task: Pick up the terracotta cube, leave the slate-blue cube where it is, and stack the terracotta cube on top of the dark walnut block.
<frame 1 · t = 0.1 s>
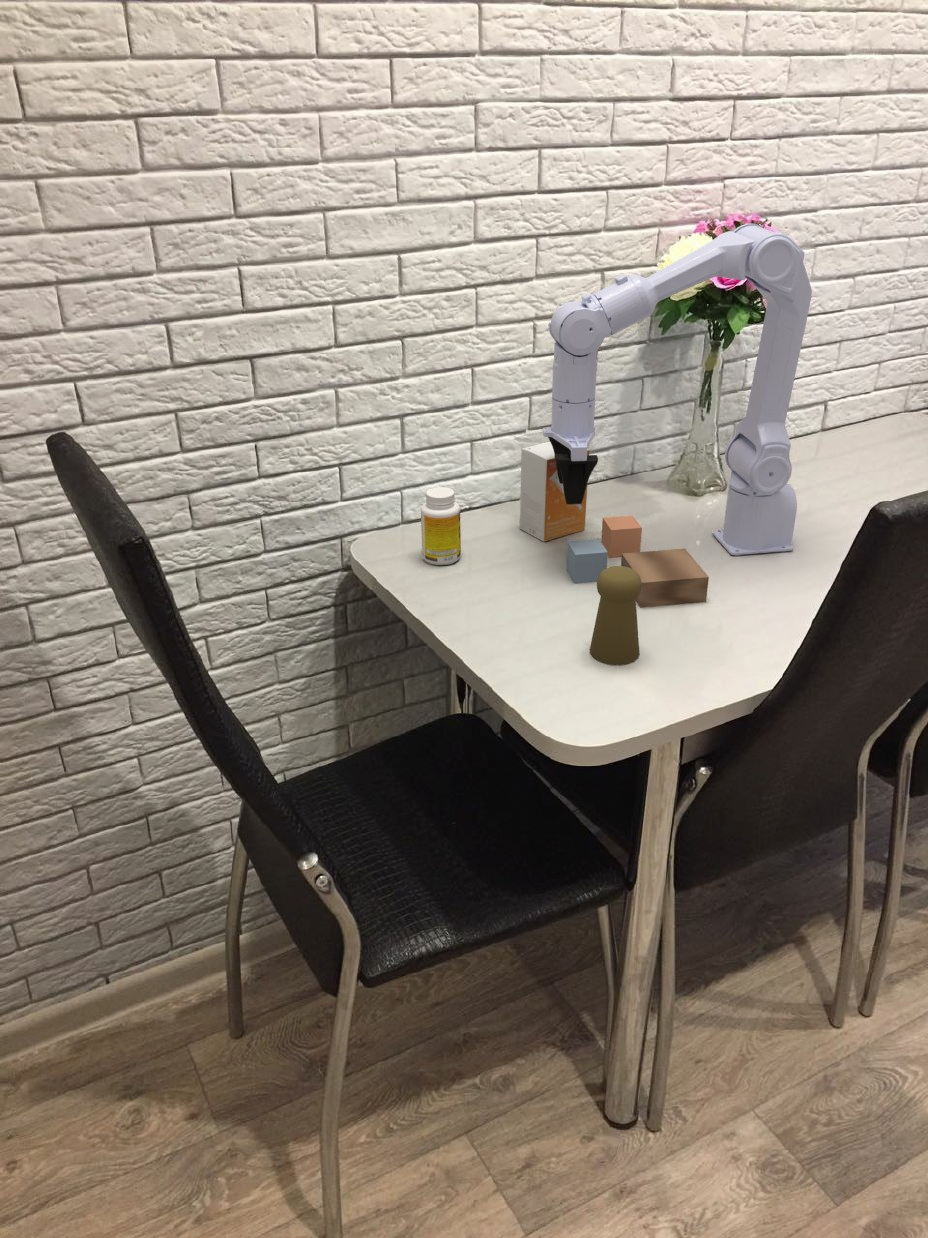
hand: (570, 492, 144), 10 cm above the table, fingers open, 7 cm apart
slate-blue cube: (585, 575, 144), on the table
olive game pawn: (614, 653, 125), on the table
walnut block: (661, 591, 140), on the table
terracotta cube: (620, 551, 151), on the table
supplement bottle: (441, 559, 149), on the table
small box: (552, 531, 157), on the table
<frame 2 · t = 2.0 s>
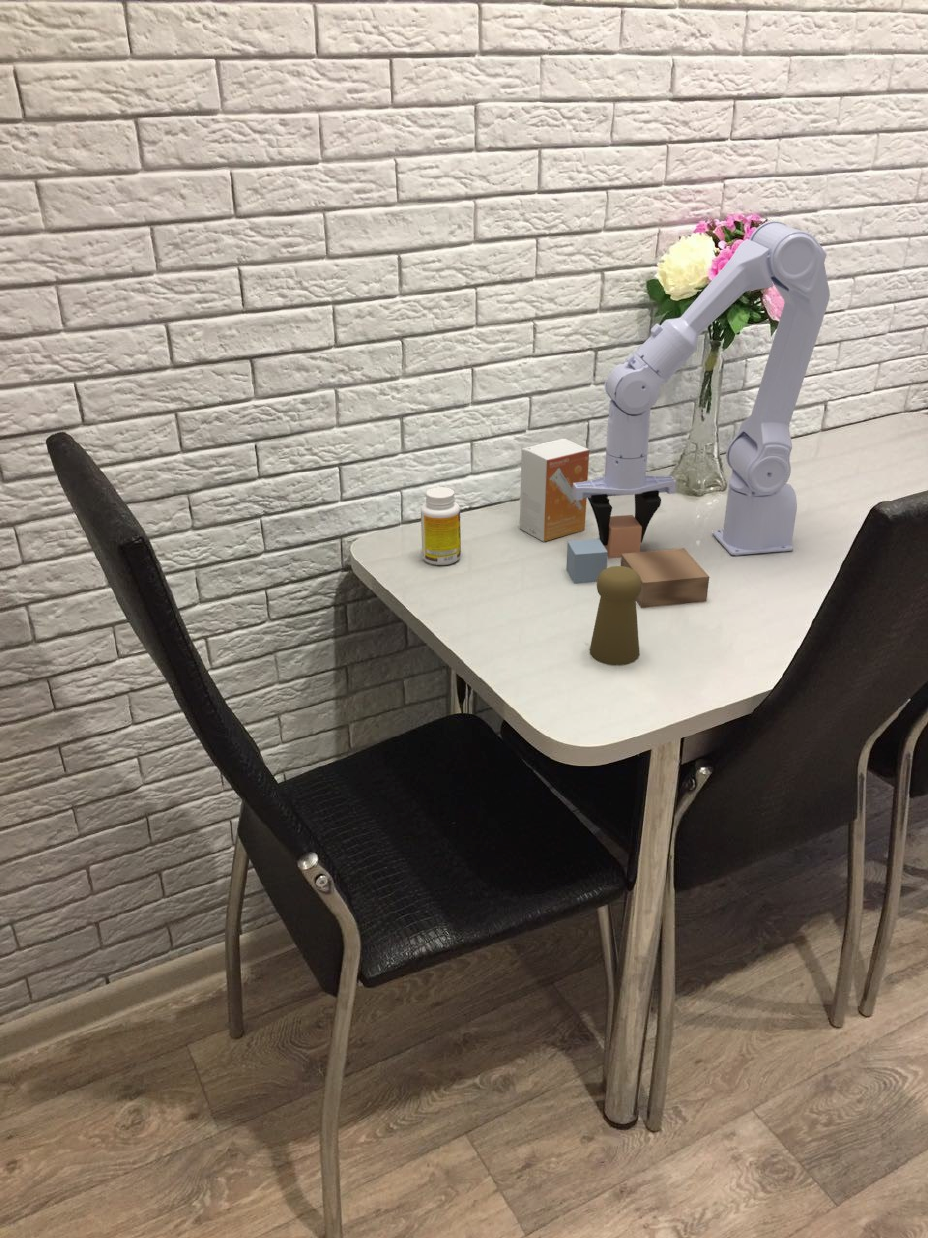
hand: (620, 541, 150), 1 cm above the table, fingers closed on terracotta cube, 4 cm apart
terracotta cube: (620, 550, 151), on the table, touching gripper
everything else where it was.
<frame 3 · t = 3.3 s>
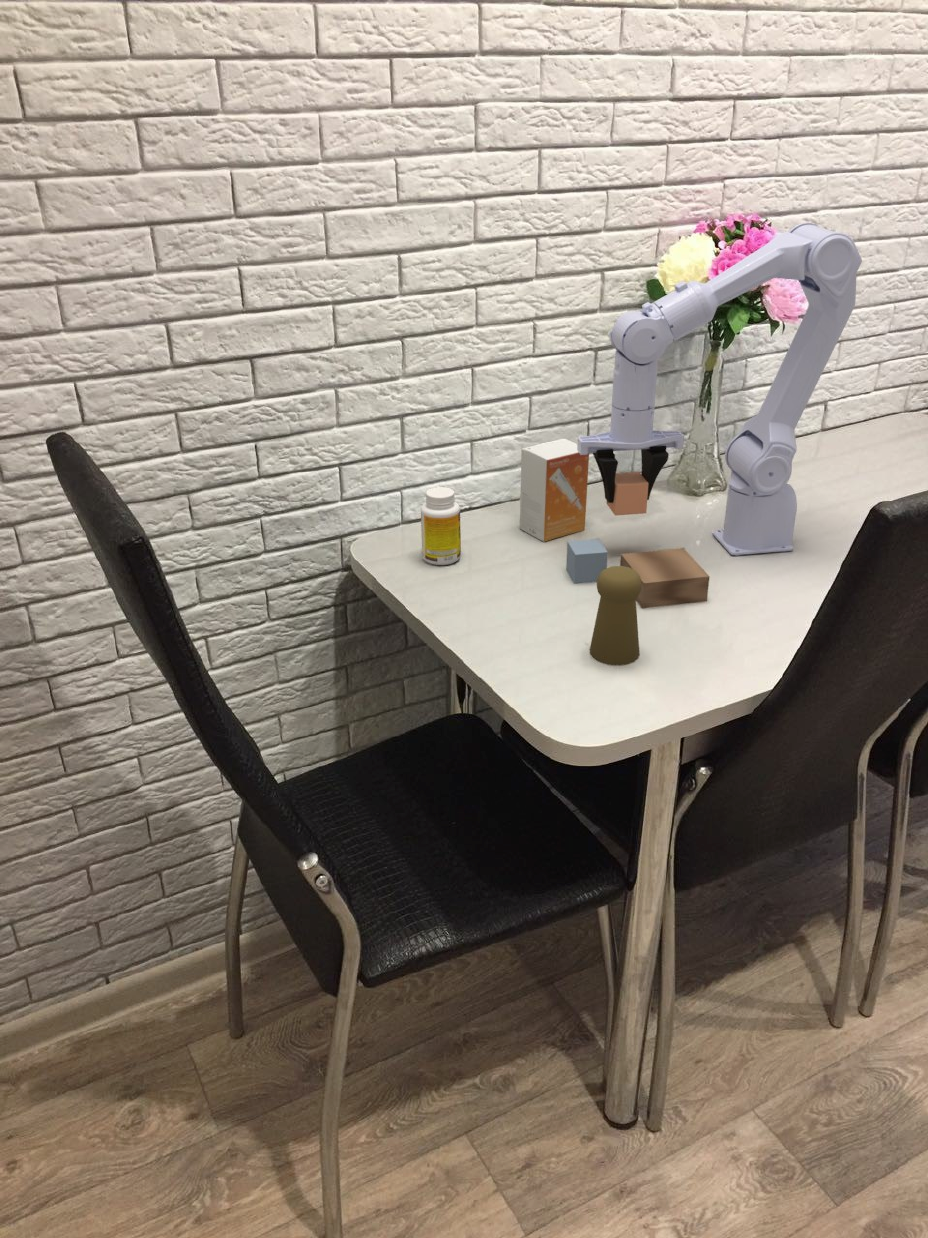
hand: (626, 498, 146), 8 cm above the table, fingers closed on terracotta cube, 4 cm apart
terracotta cube: (626, 508, 146), point 7 cm above the table, touching gripper
everything else where it was.
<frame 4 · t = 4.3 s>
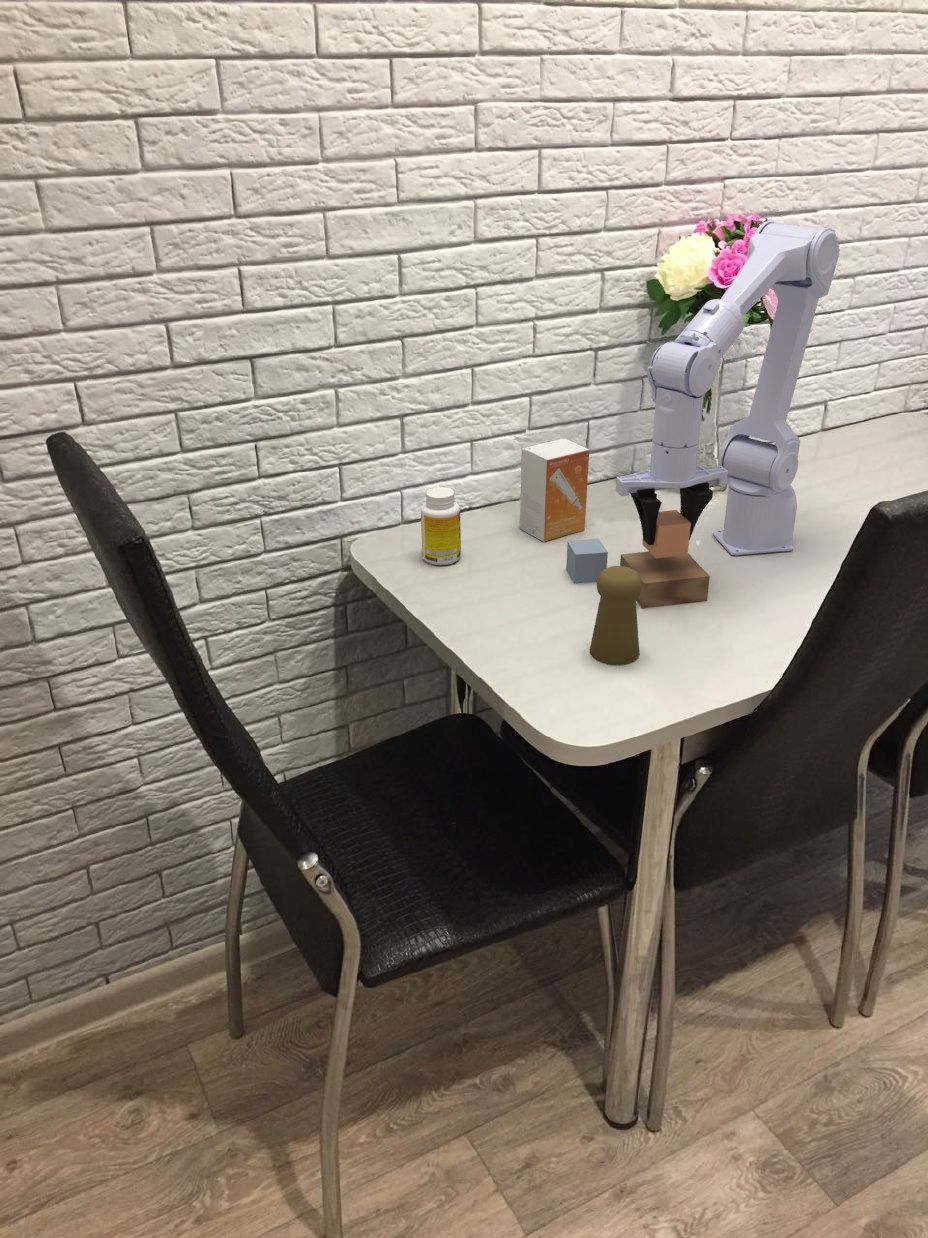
hand: (666, 539, 136), 7 cm above the table, fingers closed on terracotta cube, 4 cm apart
terracotta cube: (664, 549, 137), point 6 cm above the table, touching gripper
everything else where it was.
when the fingers open (6 cm above the table, at t = 4.9 s): terracotta cube drops 1 cm, resting on walnut block.
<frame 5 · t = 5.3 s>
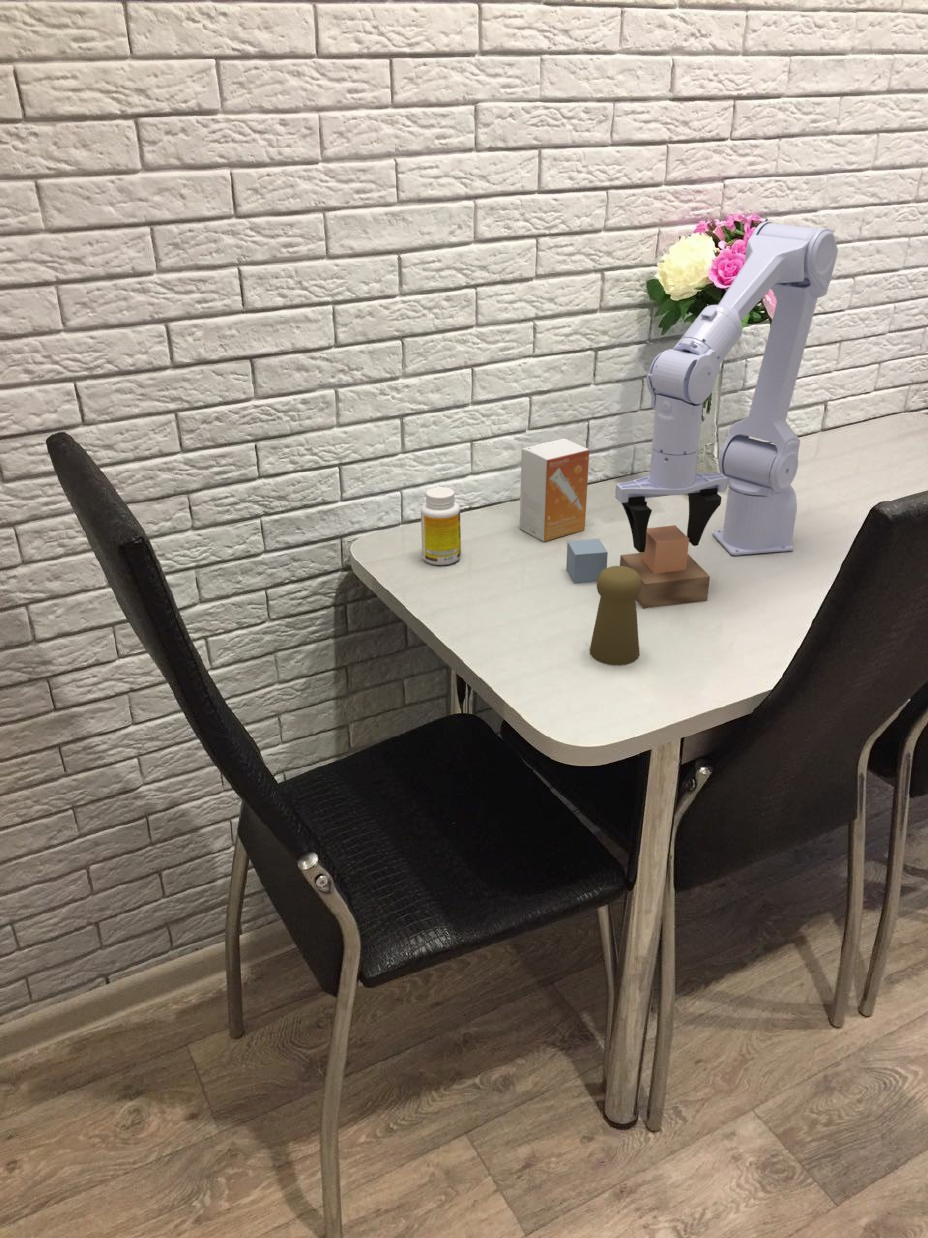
hand: (666, 546, 136), 6 cm above the table, fingers open, 7 cm apart
walnut block: (661, 592, 140), on the table, touching terracotta cube
terracotta cube: (663, 564, 138), point 4 cm above the table, touching walnut block
everything else where it was.
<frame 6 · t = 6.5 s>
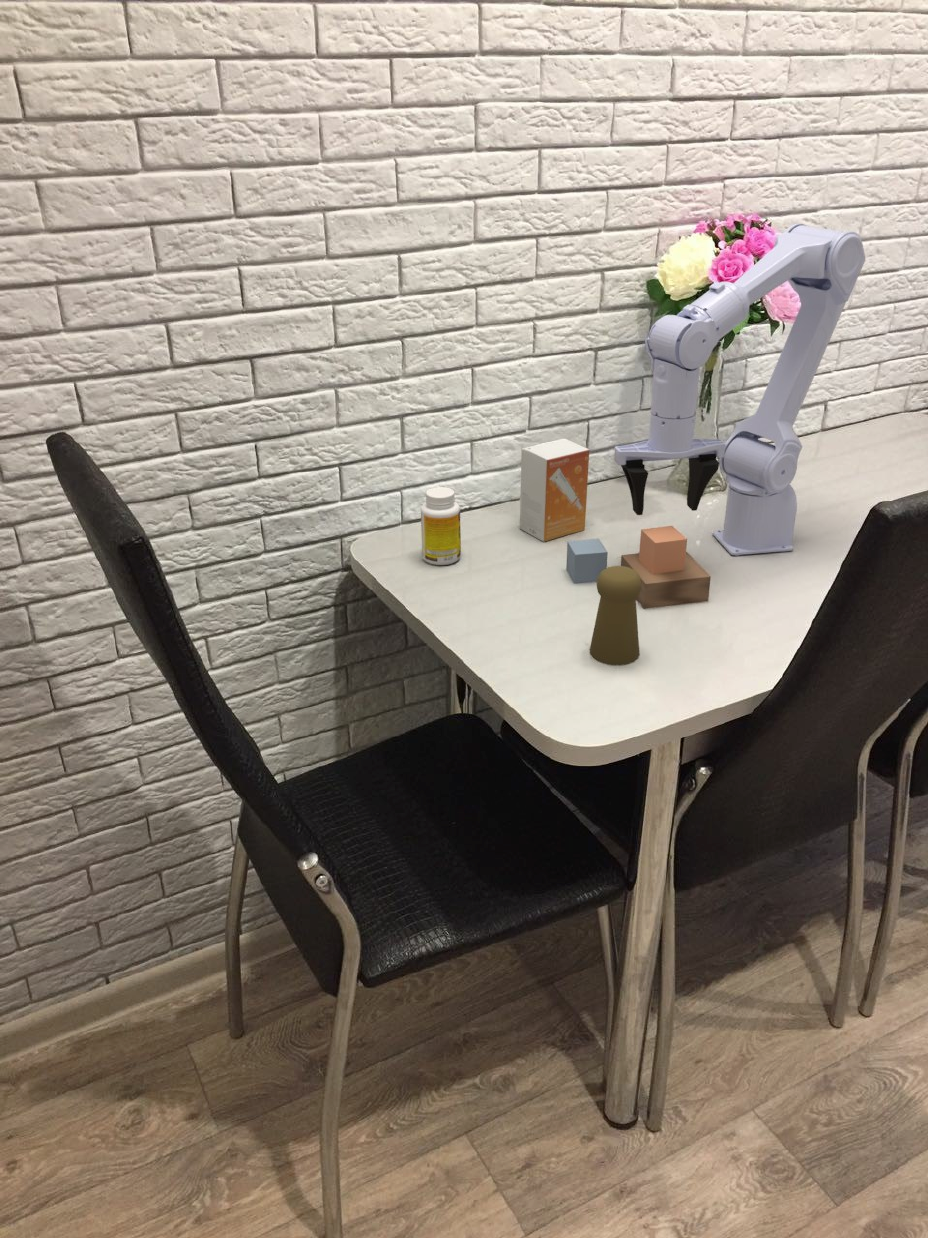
hand: (664, 510, 140), 9 cm above the table, fingers open, 7 cm apart
nothing on the table moved.
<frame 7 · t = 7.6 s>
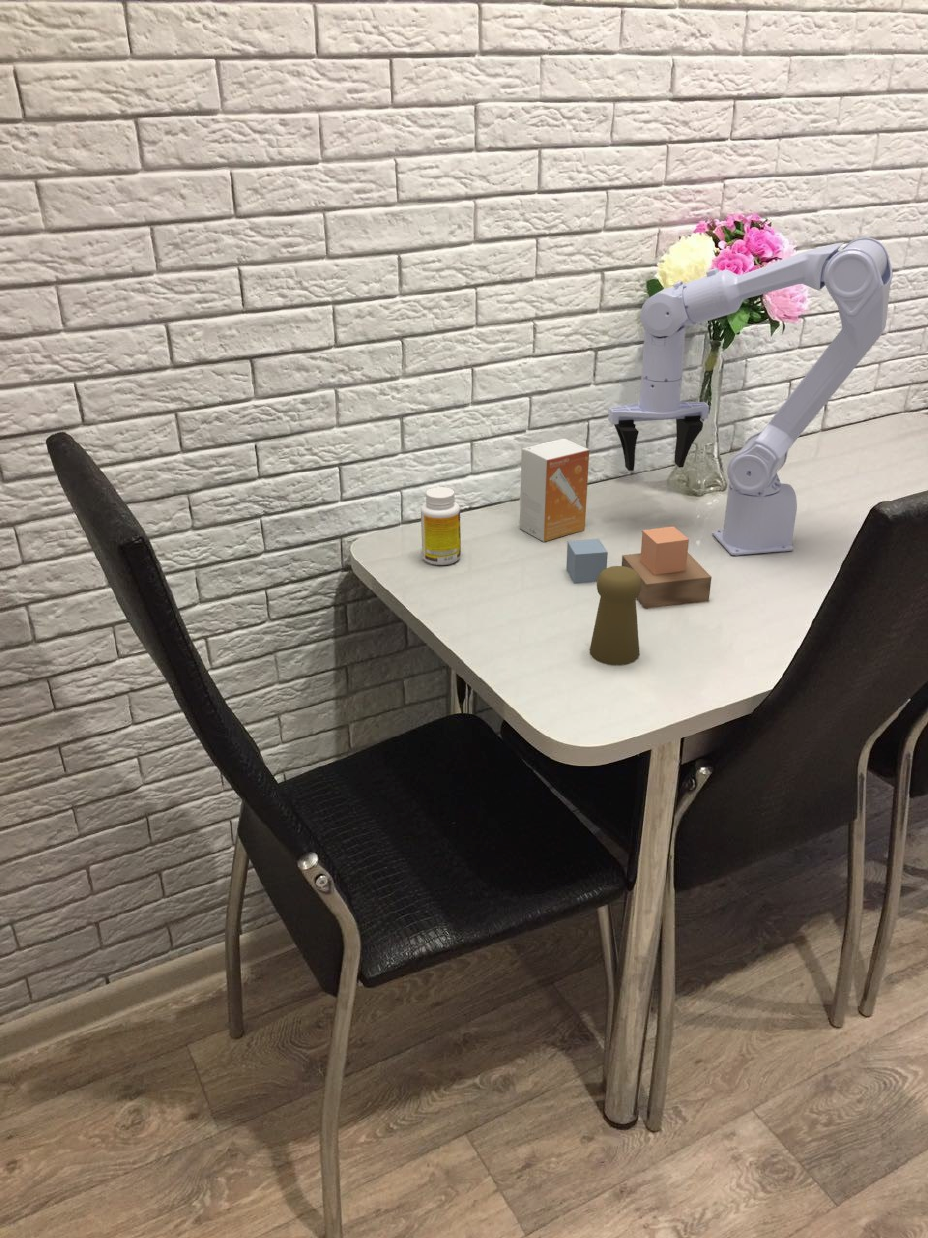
hand: (654, 466, 154), 9 cm above the table, fingers open, 7 cm apart
nothing on the table moved.
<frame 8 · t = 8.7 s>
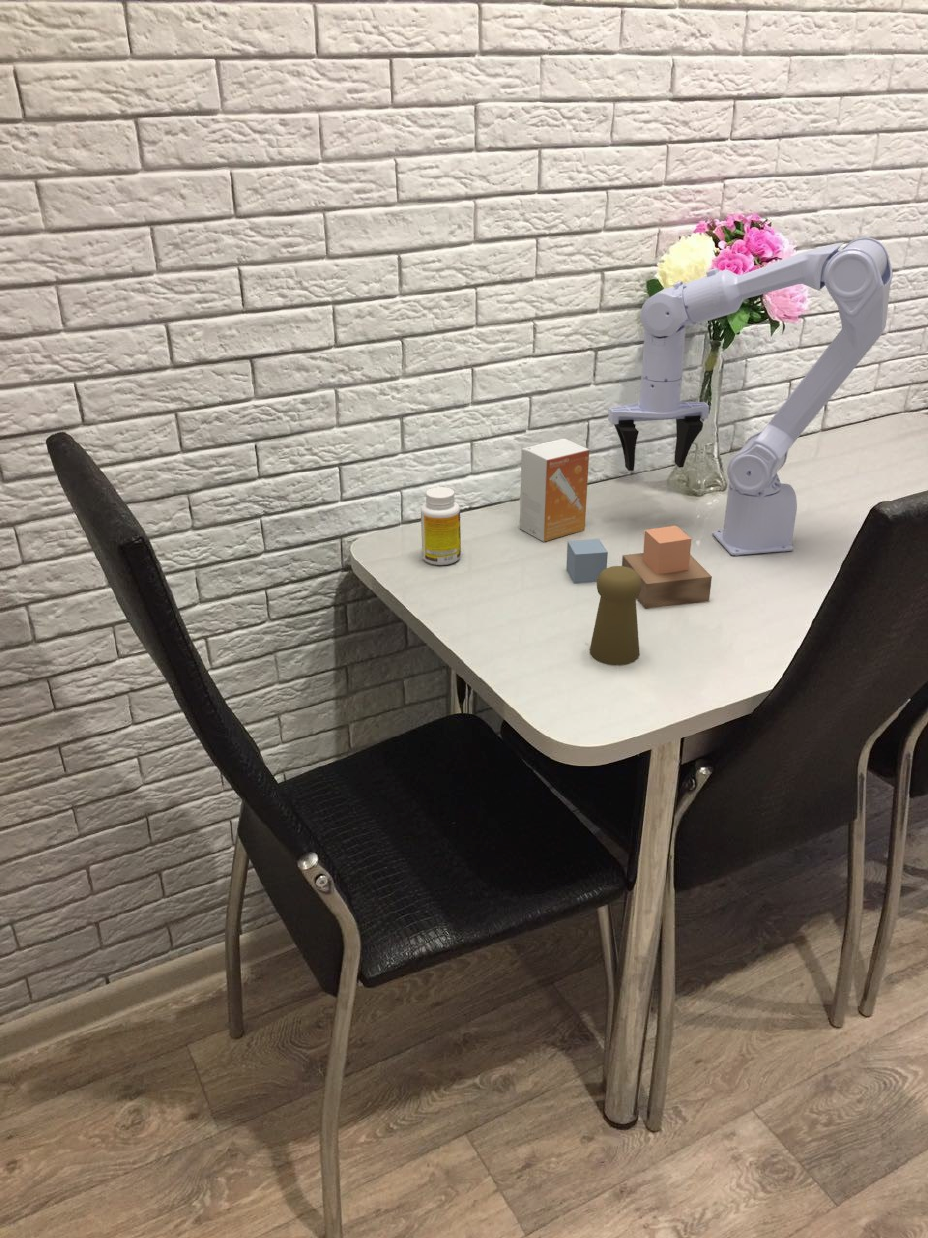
hand: (654, 466, 154), 9 cm above the table, fingers open, 7 cm apart
nothing on the table moved.
at the end: terracotta cube 0.1 cm off-centre on the walnut block, point 4.0 cm above the walnut block's base; terracotta cube tilted 1°; the gripper is holding nothing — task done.
